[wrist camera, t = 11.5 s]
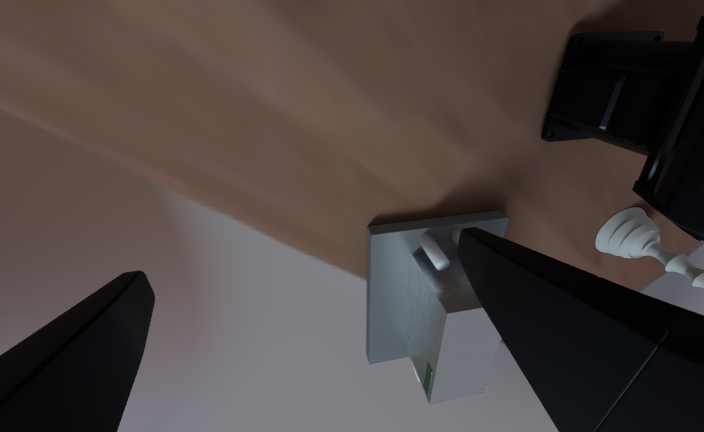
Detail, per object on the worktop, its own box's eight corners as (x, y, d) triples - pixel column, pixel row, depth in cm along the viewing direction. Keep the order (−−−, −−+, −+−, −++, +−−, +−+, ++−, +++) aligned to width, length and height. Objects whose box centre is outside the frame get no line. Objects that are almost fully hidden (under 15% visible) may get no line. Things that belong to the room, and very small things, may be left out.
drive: (466, 246, 25) (514, 301, 20) (449, 331, 30) (483, 392, 25) (411, 254, 24) (446, 313, 19) (403, 339, 29) (428, 404, 24)
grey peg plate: (500, 210, 25) (536, 239, 22) (468, 334, 33) (491, 370, 29) (367, 226, 23) (382, 261, 20) (366, 353, 31) (377, 394, 28)
